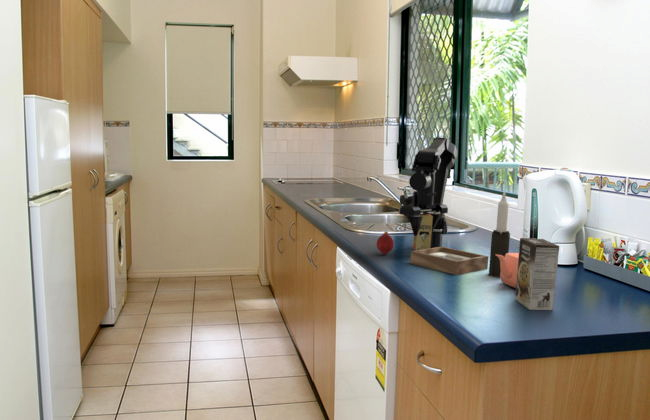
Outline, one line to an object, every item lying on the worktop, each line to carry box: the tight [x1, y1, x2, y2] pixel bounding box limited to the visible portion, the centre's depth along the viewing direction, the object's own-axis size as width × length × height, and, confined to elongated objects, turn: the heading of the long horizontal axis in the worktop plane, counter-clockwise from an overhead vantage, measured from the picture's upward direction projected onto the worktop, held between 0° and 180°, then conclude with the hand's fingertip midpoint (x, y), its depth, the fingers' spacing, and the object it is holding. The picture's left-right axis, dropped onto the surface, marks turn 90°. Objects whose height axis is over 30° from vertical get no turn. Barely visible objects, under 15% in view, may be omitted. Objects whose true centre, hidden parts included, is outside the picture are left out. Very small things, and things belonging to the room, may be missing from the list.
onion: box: [376, 231, 395, 255], centre depth 208 cm, size 6×6×8 cm
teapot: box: [496, 252, 519, 289], centre depth 170 cm, size 12×18×10 cm, turn 107°
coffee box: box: [514, 237, 560, 311], centre depth 152 cm, size 9×6×16 cm
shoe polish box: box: [412, 213, 433, 251], centre depth 207 cm, size 5×5×12 cm
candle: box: [488, 192, 511, 278], centre depth 183 cm, size 5×5×25 cm
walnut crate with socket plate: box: [409, 246, 489, 276], centre depth 194 cm, size 16×18×4 cm
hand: (422, 234), depth 207 cm, fingers closed on shoe polish box, 7 cm apart
